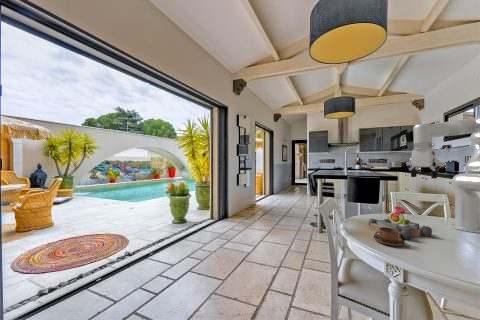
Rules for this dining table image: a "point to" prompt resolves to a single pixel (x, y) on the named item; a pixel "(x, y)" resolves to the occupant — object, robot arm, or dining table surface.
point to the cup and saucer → (388, 237)
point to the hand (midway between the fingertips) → (423, 177)
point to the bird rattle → (395, 218)
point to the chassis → (401, 228)
